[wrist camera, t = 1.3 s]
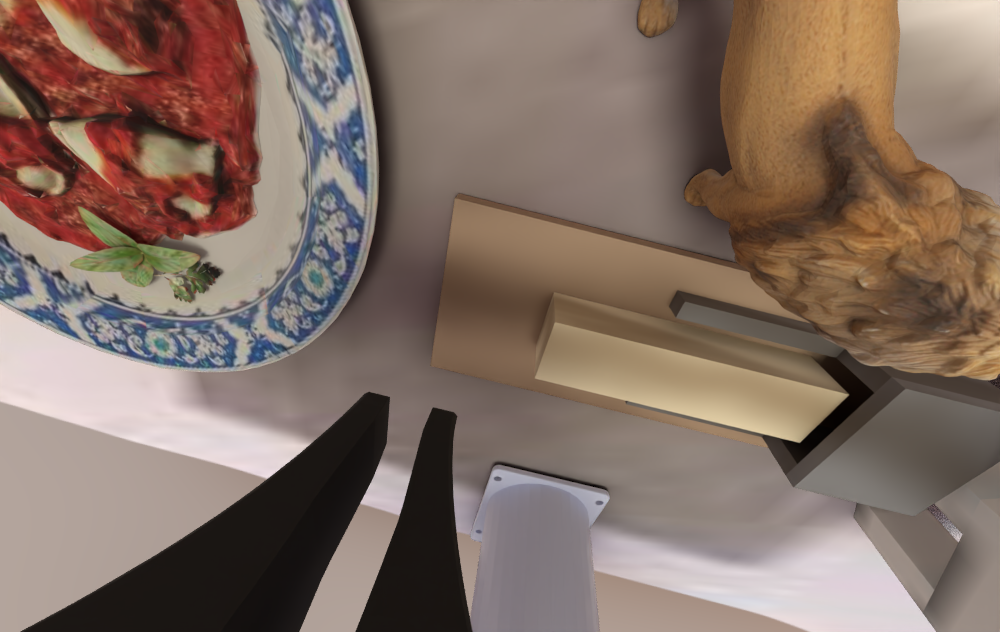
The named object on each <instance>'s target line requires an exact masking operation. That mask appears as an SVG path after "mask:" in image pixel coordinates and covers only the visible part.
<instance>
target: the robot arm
mask: <svg viewBox="0 0 1000 632" xmlns="http://www.w3.org/2000/svg"><path fill="white" fill-rule="evenodd" d="M389 402H390V397H388V396H383V395H379V394H375V393H371V392H368V393H366V394H364V395H363V396H362V397H361V398H360V399H359V400H358V401H357V402H356V403H355V404H354V405H353V406H352V407H351V408H350V409H349V410H348V411H347V412H346V413H345V414H344V415H343V416H342V417H341V418H340V419H338V420H337V421H336V422H335V423H334V424H333V425H332V426H331V427H330V428H329V429H328V430H326V431H325V432H324V433H323V434H322V435H321V436H320V437H318V438H317V439H316V440H315V441H314V442H313V443H311V444H310V445H309V446H308V447H307V448H306V449H305V450H303V451H302V452H301V453H300V454H299V455H297V456H296V457H295V458H294V459H292V460H291V461H290V462H289V463H287V464H286V465H285V466H283V467H282V468H281V469H280V470H278V471H277V472H276V473H275V474H273V475H272V476H271V477H270V478H268V479H267V480H266V481H264V482H263V483H262V484H260V485H259V486H258V487H256V488H255V489H254V490H252V491H251V492H250V493H248V494H247V495H246V496H244V497H243V498H241V499H240V500H239V501H237V502H236V503H234V504H233V505H231V506H230V507H229V508H227V509H226V510H224V511H223V512H221V513H220V514H218V515H217V516H216V517H214V518H213V519H211V520H210V521H208V522H207V523H205V524H204V525H202V526H200V527H199V528H197V529H196V530H194V531H193V532H191V533H190V534H188V535H187V536H185V537H184V538H182V539H181V540H179V541H177V542H176V543H174V544H173V545H171V546H169V547H168V548H166V549H165V550H163V551H161V552H160V553H158V554H157V555H155V556H153V557H152V558H150V559H148V560H147V561H145V562H143V563H142V564H140V565H138V566H136V567H135V568H133V569H131V570H130V571H128V572H126V573H125V574H123V575H121V576H119V577H118V578H116V579H114V580H113V581H111V582H109V583H107V584H106V585H104V586H102V587H101V588H99V589H97V590H96V591H94V592H92V593H91V594H89V595H87V596H85V597H83V598H82V599H80V600H78V601H77V602H75V603H73V604H71V605H69V606H67V607H66V608H64V609H62V610H60V611H58V612H56V613H54V614H52V615H51V616H49V617H47V618H45V619H44V620H41V621H39V622H38V623H36V624H34V625H32V626H30V627H28V628H26V629H24V630H23V631H21V632H299V631H300V629H301V626H302V624H303V622H304V619H305V617H306V614H307V612H308V610H309V607H310V605H311V603H312V600H313V598H314V596H315V593H316V591H317V589H318V586H319V584H320V581H321V579H322V577H323V575H324V573H325V571H326V568H327V566H328V565H329V562H330V560H331V558H332V556H333V554H334V553H335V551H336V549H337V547H338V545H339V543H340V541H341V539H342V537H343V535H344V533H345V531H346V529H347V528H348V526H349V524H350V522H351V520H352V518H353V516H354V514H355V512H356V510H357V508H358V506H359V504H360V502H361V500H362V499H363V497H364V495H365V493H366V491H367V489H368V487H369V485H370V483H371V481H372V479H373V477H374V474H375V472H376V469H377V467H378V464H379V462H380V459H381V456H382V454H383V451H384V449H385V446H386V444H387V431H388V416H389ZM456 420H457V415H456V414H455V413H454V412H450V411H446V410H442V409H438V408H433V409H432V411H431V413H430V415H429V418H428V420H427V422H426V425H425V427H424V429H423V433H422V437H421V440H420V444H419V448H418V451H417V455H416V459H415V463H414V466H413V470H412V474H411V478H410V481H409V485H408V489H407V493H406V496H405V500H404V504H403V507H402V510H401V513H400V517H399V520H398V523H397V526H396V528H395V531H394V534H393V536H392V539H391V542H390V544H389V547H388V549H387V552H386V555H385V557H384V560H383V563H382V566H381V568H380V570H379V573H378V576H377V578H376V581H375V584H374V586H373V589H372V591H371V594H370V596H369V599H368V602H367V604H366V607H365V609H364V612H363V614H362V617H361V619H360V622H359V624H358V627H357V630H356V632H600V629H599V619H598V609H597V598H596V588H595V578H594V567H593V557H592V547H591V536H590V527H591V526H592V524H593V523H594V521H595V520H596V518H597V517H598V516H599V514H600V513H601V511H602V510H603V508H604V507H605V505H606V504H607V502H608V501H609V499H610V497H609V493H608V491H606V490H604V489H600V488H596V487H591V486H587V485H583V484H579V483H575V482H570V481H566V480H562V479H558V478H554V477H549V476H545V475H541V474H537V473H533V472H528V471H524V470H520V469H516V468H512V467H507V466H503V465H496V466H494V467H493V468H492V471H491V474H490V477H489V480H488V483H487V486H486V489H485V492H484V495H483V498H482V501H481V504H480V507H479V510H478V513H477V516H476V519H475V522H474V525H473V528H472V530H471V535H470V537H471V539H472V540H474V541H479V542H481V549H480V556H479V563H478V569H477V577H476V583H475V590H474V596H473V603H472V610H471V617H470V616H469V611H468V607H467V601H466V595H465V589H464V583H463V577H462V571H461V564H460V557H459V550H458V542H457V533H456V523H455V512H454V499H453V474H452V455H453V437H454V429H455V424H456Z"/></svg>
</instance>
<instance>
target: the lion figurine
mask: <svg viewBox="0 0 1000 632" xmlns="http://www.w3.org/2000/svg"><path fill="white" fill-rule="evenodd" d="M677 13H678V0H642V2H641V5H640V9H639V12H638V28H639V30H640V31H641V32H642V33H643V34H644V35H646V36H647V37H654V36H657V35H660V34H662V33H663V32H665V31H666V30H668V29H669V28H671V27H672V26H673V25H674V23H675V20H676V17H677ZM899 39H900V28H899V20H898V11H897V0H734V9H733V18H732V25H731V30H730V35H729V39H728V44H727V48H726V54H725V60H724V66H723V71H722V76H721V82H720V106H721V119H722V126H723V131H724V135H725V140H726V144H727V148H728V153H729V158H730V163H731V166H732V169H731V170H730V171H728V172H727V173H726V174H725V175H724V176H721V175H720V174H719V173H718V172H717V171H715V170H713V169H707V170H705V171H703V172H702V173H699V174H698V175H696V176H694V177H693V178H692V179H691V181H690V182H689V184H688V185H687V187H686V189H685V192H684V196H685V200H686V201H687V202H689V203H690V204H692V205H693V206H707V207H708V209H709V210H710V212H711V213H712V214H713V215H714V216H715V217H717V218H719V219H721V220H724V221H727V222H729V223H730V225H731V226H730V229H729V234H730V237H731V240H732V247H733V250H734V252H735V260H736V262H737V263H738V264H739V265H741V266H742V267H744V268H746V269H747V270H748V271H749V273H750V276H751V279H752V280H753V281H754V283H755V284H756V285H758V286H759V287H760V288H761V289H763V290H764V291H765V293H766V294H768V295H769V296H771V297H772V298H774V299H775V300H776V301H778V303H779V304H780V305H781V306H782V307H783V308H784V309H785V310H787V311H789V312H791V313H793V314H794V315H797V316H799V317H801V318H803V319H805V320H807V321H808V322H810V324H811V325H812V326H813V327H814V329H815V331H816V332H817V334H819V335H820V336H821V337H823V338H824V339H826V340H828V341H829V342H832V343H834V344H836V345H838V346H840V347H843V348H845V349H846V350H847V351H848V352H849V353H850V355H851V356H853V357H854V358H855V359H856V360H857V361H859V362H860V363H862V364H865V365H868V366H891V367H893V368H895V369H898V370H901V371H906V372H911V373H933V374H937V375H941V376H944V377H956V376H961V375H962V376H967V377H969V378H973V379H979V380H993V379H996V378H997V376H998V374H1000V206H998V205H996V204H995V203H994V201H993V200H992V198H991V197H989V196H988V195H986V194H983V193H980V192H978V191H974V190H970V189H965V188H962V187H961V186H960V185H959V184H957V182H956V181H955V180H954V179H953V178H952V177H951V176H949V175H948V174H947V173H945V172H943V171H940V170H938V169H936V168H935V167H934V166H932V165H931V164H927V163H925V162H922V161H920V160H917V158H916V156H915V154H914V152H913V150H912V149H911V147H910V146H909V145H908V143H907V142H906V141H905V140H904V138H903V137H902V136H901V135H900V134H899V133H898V132H896V131H895V129H894V106H893V102H894V95H895V88H896V81H897V67H898V53H899Z"/></svg>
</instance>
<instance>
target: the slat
mask: <svg viewBox="0 0 1000 632" xmlns="http://www.w3.org/2000/svg"><path fill="white" fill-rule="evenodd" d="M535 379H539V380H543V381H547V382H552V383H556V384H560V385H564V386H568V387H572V388H576V389H580V390H584V391H589V392H593V393H597V394H601V395H605V396H609V397H613V398H617V399H621V400H626V401H630V402H634V403H638V404H642V405H646V406H650V407H654V408H658V409H663V410H667V411H671V412H675V413H679V414H683V415H687V416H691V417H695V418H700V419H704V420H708V421H712V422H716V423H720V424H724V425H728V426H732V427H737V428H741V429H745V430H749V431H753V432H757V433H761V434H765V435H769V436H774V437H778V438H782V439H786V440H790V441H794V442H798V443H800V442H801V441H802V440H803V439H804V438H805V437H806V436H807V435H808V434H809V433H810V432H811V431H812V430H814V429H815V428H816V427H817V426H818V425H819V424H820V423H821V422H822V421H823V420H824V419H825V418H826V417H827V416H828V415H829V414H830V413H831V412H832V411H833V410H834V409H835V408H836V407H837V406H838V405H839V404H840V403H841V402H842V401H843V400H845V399H846V398H847V397H848V396H849V394H848V393H847V392H846V391H845V390H844V389H843V388H842V387H841V386H840V385H839V384H838V383H837V382H836V381H835V380H834V379H833V378H832V377H831V376H830V375H829V374H828V373H827V372H826V371H825V370H824V369H823V368H822V367H821V366H820V365H819V364H818V363H817V362H816V361H815V360H814V359H813V358H812V357H811V356H809V355H805V354H801V353H797V352H793V351H789V350H785V349H781V348H777V347H773V346H769V345H765V344H761V343H757V342H753V341H749V340H745V339H740V338H736V337H732V336H728V335H724V334H720V333H716V332H712V331H708V330H704V329H700V328H696V327H692V326H688V325H684V324H680V323H676V322H672V321H668V320H664V319H660V318H656V317H652V316H648V315H644V314H640V313H636V312H632V311H628V310H624V309H620V308H616V307H612V306H607V305H603V304H599V303H595V302H591V301H587V300H583V299H579V298H575V297H571V296H567V295H563V294H559V293H555V292H554V294H553V297H552V300H551V303H550V306H549V308H548V311H547V314H546V317H545V320H544V323H543V326H542V329H541V332H540V335H539V338H538V341H537V344H536V360H535Z"/></svg>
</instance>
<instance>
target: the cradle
mask: <svg viewBox="0 0 1000 632" xmlns="http://www.w3.org/2000/svg"><path fill="white" fill-rule="evenodd" d="M554 292H555V293H559V294H563V295H567V296H571V297H575V298H579V299H583V300H587V301H591V302H595V303H599V304H603V305H607V306H612V307H616V308H620V309H624V310H628V311H632V312H636V313H640V314H644V315H648V316H652V317H656V318H660V319H664V320H668V321H672V322H676V323H680V324H684V325H688V326H692V327H696V328H700V329H704V330H708V331H712V332H716V333H720V334H724V335H728V336H732V337H736V338H740V339H745V340H749V341H753V342H757V343H761V344H765V345H769V346H773V347H777V348H781V349H785V350H789V351H793V352H797V353H801V354H805V355H809V356H811V357H812V358H813V359H814V360H815V361H816V362H817V363H818V364H819V365H820V366H821V367H822V368H823V369H824V370H825V371H826V372H827V373H828V374H829V375H830V376H831V377H832V378H833V379H834V380H835V381H836V382H837V383H838V384H839V385H840V386H841V387H842V388H843V389H844V390H845V391H846V392H847V393H848V394H849V396H848V397H847V398H846V399H845V400H843V401H842V402H841V403H840V404H839V405H838V406H837V407H836V408H835V409H834V410H833V411H832V412H831V413H830V414H829V415H828V416H827V417H826V418H825V419H824V420H823V421H822V422H821V423H820V424H819V425H818V426H817V427H816V428H815V429H814V430H812V431H811V432H810V433H809V434H808V435H807V436H806V437H805V438H804V439H803V440H802V441H801V442H800V443H798V442H794V441H790V440H786V439H782V438H778V437H774V436H769V435H765V434H761V433H757V432H753V431H749V430H745V429H741V428H737V427H732V426H728V425H724V424H720V423H716V422H712V421H708V420H704V419H700V418H695V417H691V416H687V415H683V414H679V413H675V412H671V411H667V410H663V409H658V408H654V407H650V406H646V405H642V404H638V403H634V402H630V401H626V400H621V399H617V398H613V397H609V396H605V395H601V394H597V393H593V392H589V391H584V390H580V389H576V388H572V387H568V386H564V385H560V384H556V383H552V382H547V381H543V380H539V379H535V360H536V344H537V341H538V338H539V335H540V332H541V329H542V326H543V323H544V320H545V317H546V314H547V311H548V308H549V306H550V303H551V300H552V297H553V294H554ZM430 366H433V367H437V368H441V369H445V370H449V371H453V372H457V373H461V374H466V375H470V376H474V377H478V378H482V379H486V380H490V381H494V382H499V383H503V384H507V385H511V386H515V387H519V388H523V389H527V390H531V391H536V392H540V393H544V394H548V395H552V396H556V397H560V398H564V399H569V400H573V401H577V402H581V403H585V404H589V405H593V406H597V407H602V408H606V409H610V410H614V411H618V412H622V413H626V414H630V415H635V416H639V417H643V418H647V419H651V420H655V421H659V422H663V423H668V424H672V425H676V426H680V427H684V428H688V429H692V430H696V431H701V432H705V433H709V434H713V435H717V436H721V437H725V438H729V439H734V440H738V441H742V442H746V443H750V444H754V445H758V446H762V447H766V448H769V449H770V451H771V452H772V454H773V456H774V457H775V459H776V460H777V462H778V464H779V465H780V467H781V468H782V470H783V472H784V473H785V475H786V476H787V478H788V480H789V481H790V483H791V484H792V486H793V488H798V489H802V490H806V491H810V492H814V493H818V494H823V495H827V496H831V497H835V498H839V499H843V500H848V501H852V502H856V503H860V504H864V505H868V506H872V507H877V508H881V509H885V510H889V511H893V512H897V513H902V514H906V515H910V516H916V515H917V514H919V513H920V512H922V511H924V510H925V509H927V508H928V507H930V506H931V505H933V504H934V503H936V502H938V501H939V500H941V499H942V498H944V497H945V496H947V495H949V494H950V493H952V492H953V491H955V490H956V489H958V488H960V487H961V486H963V485H964V484H966V483H967V482H969V481H971V480H972V479H974V478H975V477H977V476H978V475H980V474H982V473H983V472H985V471H986V470H988V469H989V468H991V467H993V466H994V465H996V464H997V463H999V462H1000V389H999V388H997V387H996V386H994V385H993V384H991V383H990V382H988V381H987V380H979V379H973V378H969V377H967V376H962V375H961V376H956V377H944V376H941V375H937V374H933V373H911V372H906V371H901V370H898V369H895V368H893V367H891V366H868V365H865V364H862V363H860V362H859V361H857V360H856V359H855V358H854V357H853V356H851V355H850V353H849V352H848V351H847V350H846V349H845V348H843V347H840V346H838V345H836V344H834V343H832V342H829V341H828V340H826V339H824V338H823V337H821V336H820V335H819V334H817V332H816V331H815V329H814V327H813V326H812V325H811V324H810V322H808V321H807V320H805V319H803V318H801V317H799V316H797V315H794V314H793V313H791V312H789V311H787V310H785V309H784V308H783V307H782V306H781V305H780V304H779V303H778V301H776V300H775V299H774V298H772V297H771V296H769V295H768V294H766V293H765V291H764V290H763V289H761V288H760V287H759V286H758V285H756V284H755V283H754V281H753V280H752V279H751V276H750V273H749V271H748V270H747V269H746V268H744V267H742V266H741V265H739V264H737V263H733V262H729V261H725V260H721V259H717V258H713V257H709V256H705V255H701V254H697V253H693V252H689V251H685V250H681V249H677V248H673V247H669V246H665V245H662V244H658V243H654V242H650V241H646V240H642V239H638V238H634V237H630V236H626V235H622V234H618V233H614V232H610V231H606V230H602V229H598V228H594V227H590V226H586V225H582V224H578V223H574V222H570V221H566V220H562V219H558V218H554V217H550V216H547V215H543V214H539V213H535V212H531V211H527V210H523V209H519V208H515V207H511V206H507V205H503V204H499V203H495V202H491V201H487V200H483V199H479V198H475V197H471V196H467V195H463V194H458V195H457V196H456V197H455V201H454V208H453V215H452V222H451V228H450V235H449V242H448V249H447V256H446V262H445V269H444V276H443V283H442V290H441V297H440V303H439V310H438V317H437V324H436V331H435V337H434V344H433V351H432V358H431V365H430Z"/></svg>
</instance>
